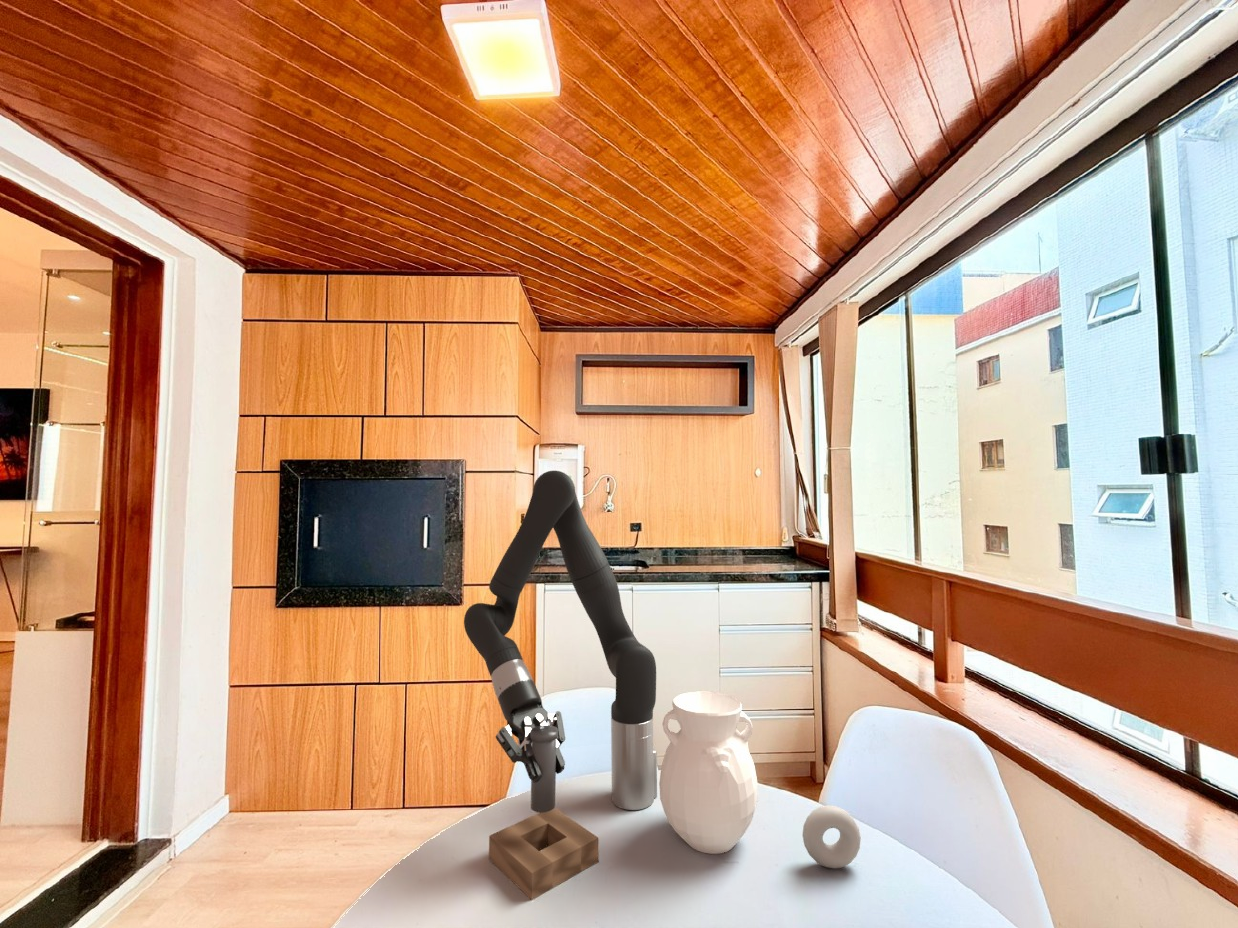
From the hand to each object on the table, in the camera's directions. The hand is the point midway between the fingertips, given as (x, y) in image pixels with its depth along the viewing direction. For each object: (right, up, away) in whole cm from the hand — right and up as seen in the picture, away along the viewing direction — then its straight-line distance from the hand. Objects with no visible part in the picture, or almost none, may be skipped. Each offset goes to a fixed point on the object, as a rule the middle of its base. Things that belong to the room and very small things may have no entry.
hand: (549, 774), depth 95 cm
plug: (-1, -6, +1) cm, 6 cm away
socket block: (-1, -15, 0) cm, 15 cm away
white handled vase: (+30, -16, +6) cm, 34 cm away
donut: (+50, -15, -2) cm, 52 cm away
